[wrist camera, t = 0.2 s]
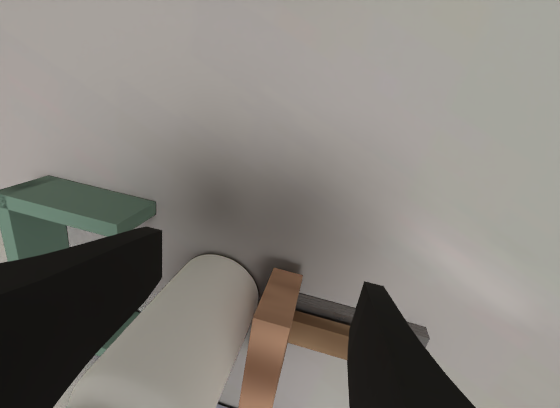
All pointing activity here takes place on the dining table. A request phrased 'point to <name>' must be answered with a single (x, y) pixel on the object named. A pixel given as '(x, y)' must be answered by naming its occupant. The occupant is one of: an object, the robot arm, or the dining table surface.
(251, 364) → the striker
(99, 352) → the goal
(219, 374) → the can
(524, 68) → the dining table surface
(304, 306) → the rail
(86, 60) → the dining table surface
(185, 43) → the dining table surface
